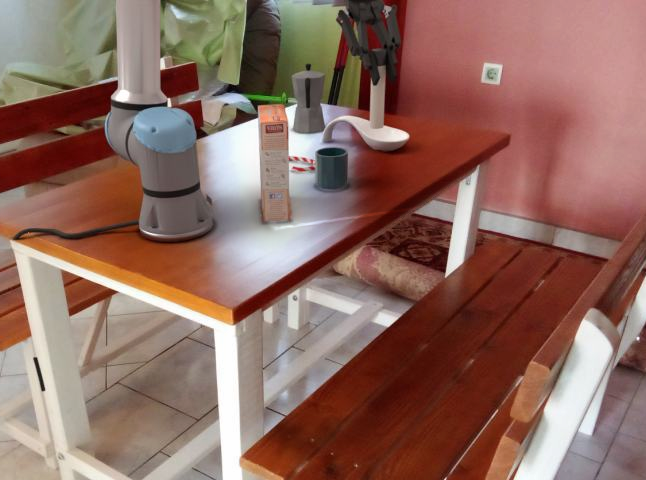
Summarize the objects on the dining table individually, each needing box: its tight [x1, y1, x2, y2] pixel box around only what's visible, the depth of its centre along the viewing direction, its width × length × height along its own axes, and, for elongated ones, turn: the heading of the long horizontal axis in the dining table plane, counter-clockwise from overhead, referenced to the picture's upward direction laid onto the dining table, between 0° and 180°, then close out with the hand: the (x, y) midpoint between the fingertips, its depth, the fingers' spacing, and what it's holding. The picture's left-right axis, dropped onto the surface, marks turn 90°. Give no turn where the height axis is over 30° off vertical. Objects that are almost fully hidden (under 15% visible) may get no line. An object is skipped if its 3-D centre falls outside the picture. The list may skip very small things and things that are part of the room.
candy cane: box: [289, 155, 315, 172], centre depth 179 cm, size 8×1×15 cm
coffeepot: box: [291, 63, 326, 134], centre depth 201 cm, size 15×9×18 cm, turn 175°
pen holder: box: [314, 146, 349, 190], centre depth 163 cm, size 7×7×8 cm
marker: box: [369, 47, 387, 129], centre depth 153 cm, size 3×3×16 cm
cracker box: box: [257, 103, 291, 223], centre depth 149 cm, size 14×6×21 cm, turn 1°
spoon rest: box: [321, 115, 410, 153], centre depth 188 cm, size 24×12×7 cm, turn 59°
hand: (385, 80), depth 148 cm, fingers closed on marker, 3 cm apart
